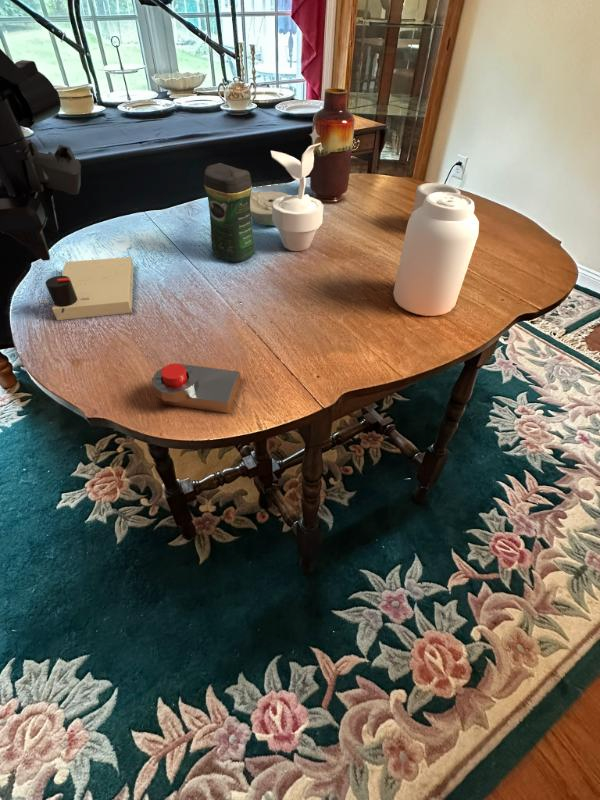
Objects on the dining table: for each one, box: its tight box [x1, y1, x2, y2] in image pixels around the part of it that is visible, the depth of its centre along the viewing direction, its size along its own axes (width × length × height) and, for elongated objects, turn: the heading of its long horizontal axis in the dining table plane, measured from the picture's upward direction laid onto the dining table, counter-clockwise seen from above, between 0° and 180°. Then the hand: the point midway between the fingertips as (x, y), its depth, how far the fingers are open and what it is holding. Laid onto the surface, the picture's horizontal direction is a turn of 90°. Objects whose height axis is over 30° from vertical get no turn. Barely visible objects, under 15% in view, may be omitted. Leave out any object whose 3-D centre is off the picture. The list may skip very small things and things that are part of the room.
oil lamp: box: [250, 191, 291, 226], centre depth 113 cm, size 21×14×5 cm
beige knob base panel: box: [40, 256, 135, 321], centre depth 84 cm, size 15×20×3 cm
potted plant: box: [270, 127, 324, 252], centre depth 95 cm, size 13×12×25 cm
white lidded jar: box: [392, 192, 480, 317], centre depth 81 cm, size 12×12×20 cm
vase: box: [309, 87, 356, 204], centre depth 118 cm, size 11×11×26 cm
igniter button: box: [161, 363, 187, 388], centre depth 62 cm, size 3×3×2 cm
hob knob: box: [45, 275, 77, 307], centre depth 77 cm, size 4×4×4 cm
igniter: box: [151, 363, 241, 414], centre depth 65 cm, size 11×8×4 cm
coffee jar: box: [203, 162, 256, 263], centre depth 93 cm, size 10×8×19 cm
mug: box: [411, 182, 462, 214], centre depth 110 cm, size 14×11×10 cm
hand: (51, 244), depth 71 cm, fingers open, 9 cm apart
